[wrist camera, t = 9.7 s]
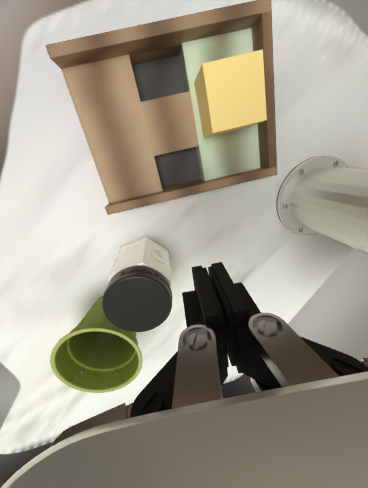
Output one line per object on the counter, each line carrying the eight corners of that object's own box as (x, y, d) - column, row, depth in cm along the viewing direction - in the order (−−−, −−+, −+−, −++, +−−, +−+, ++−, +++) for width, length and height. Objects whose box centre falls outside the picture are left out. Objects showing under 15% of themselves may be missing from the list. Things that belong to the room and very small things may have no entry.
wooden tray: (248, 30, 25) (271, -3, 20) (258, 172, 32) (277, 174, 27) (68, 69, 25) (45, 45, 20) (115, 206, 31) (107, 214, 26)
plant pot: (139, 275, 36) (131, 321, 26) (152, 326, 41) (150, 383, 30) (70, 287, 35) (34, 339, 25) (91, 338, 40) (68, 400, 30)
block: (243, 70, 24) (262, 49, 20) (248, 127, 27) (266, 120, 22) (193, 82, 24) (202, 63, 20) (203, 138, 26) (212, 133, 22)
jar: (179, 257, 36) (189, 299, 25) (151, 289, 37) (149, 343, 26) (135, 227, 33) (124, 260, 22) (108, 264, 35) (84, 312, 24)
